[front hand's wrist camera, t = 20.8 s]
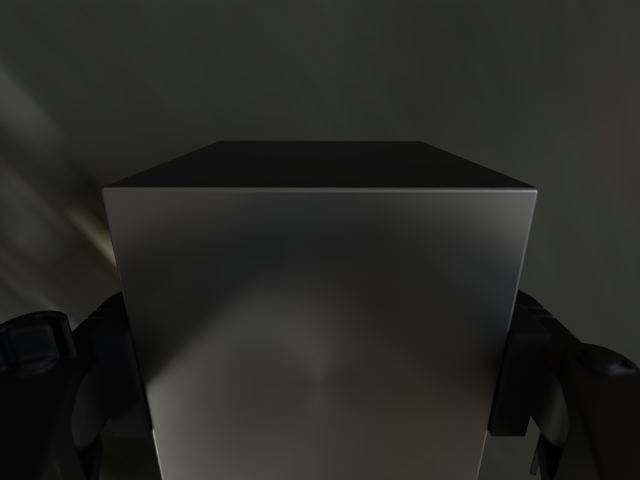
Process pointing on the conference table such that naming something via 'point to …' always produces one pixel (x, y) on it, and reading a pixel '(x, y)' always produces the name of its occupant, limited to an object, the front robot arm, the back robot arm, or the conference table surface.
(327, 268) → the gray cube
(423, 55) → the conference table surface
